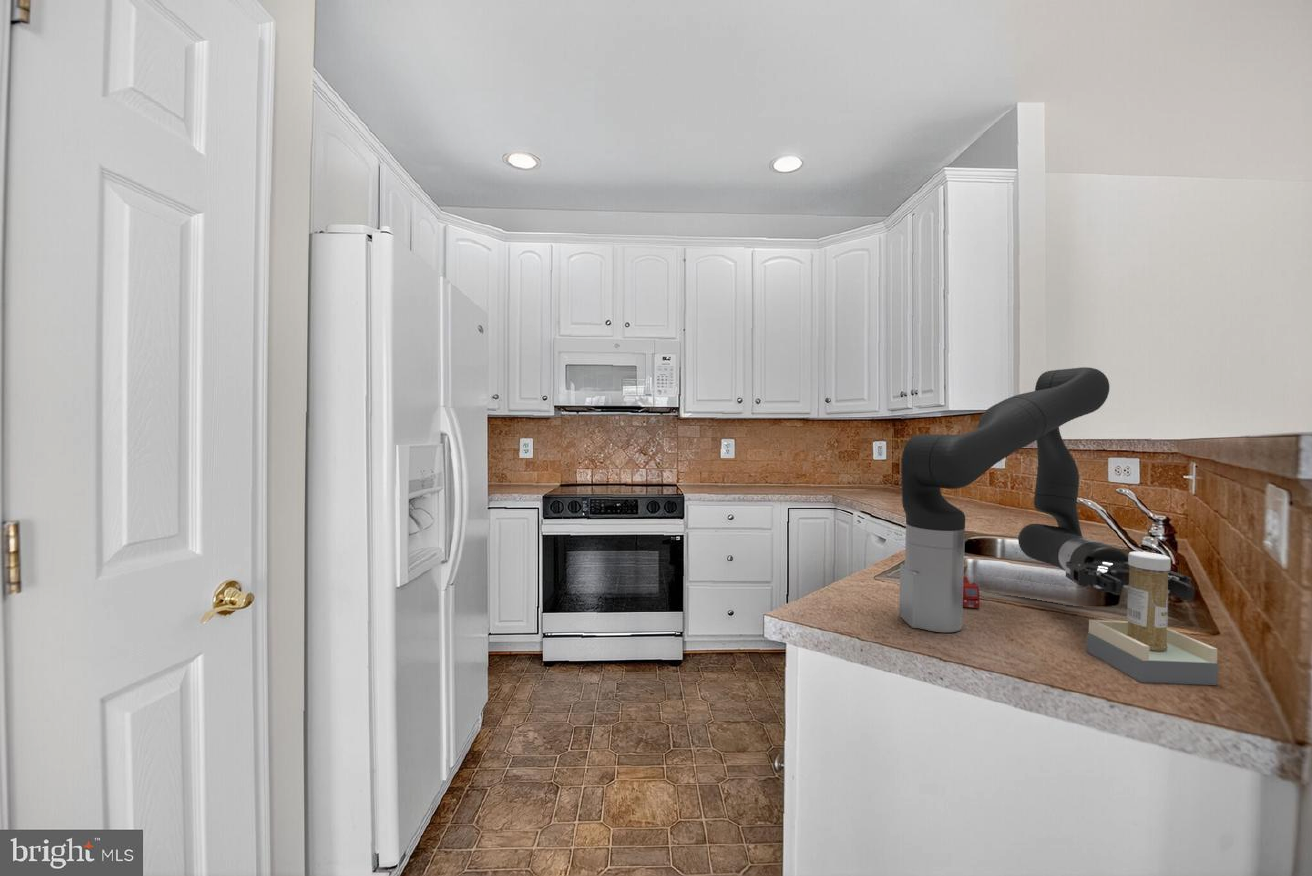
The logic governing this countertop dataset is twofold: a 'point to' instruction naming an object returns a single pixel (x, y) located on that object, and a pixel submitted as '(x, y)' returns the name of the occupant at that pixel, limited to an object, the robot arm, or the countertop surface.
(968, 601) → the toy fire truck
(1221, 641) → the countertop surface
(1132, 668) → the shallow square tray
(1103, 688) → the countertop surface
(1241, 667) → the countertop surface
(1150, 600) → the sprinkles bottle
